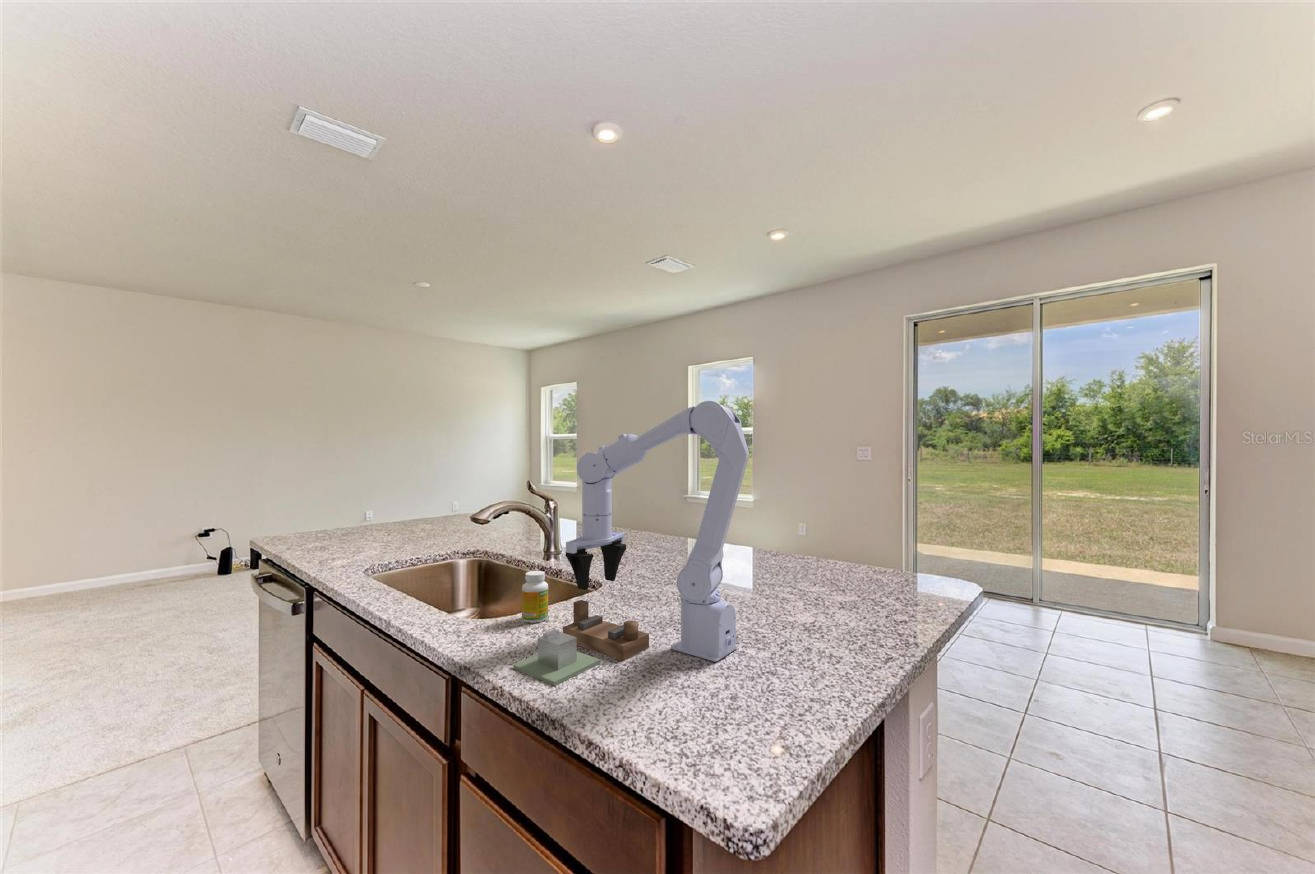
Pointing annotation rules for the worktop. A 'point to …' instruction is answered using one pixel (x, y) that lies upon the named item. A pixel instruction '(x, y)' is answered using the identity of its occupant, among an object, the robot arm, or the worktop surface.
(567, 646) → the lever cap
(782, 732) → the worktop surface
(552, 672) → the rubber mat
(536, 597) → the supplement bottle
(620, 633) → the plane body
